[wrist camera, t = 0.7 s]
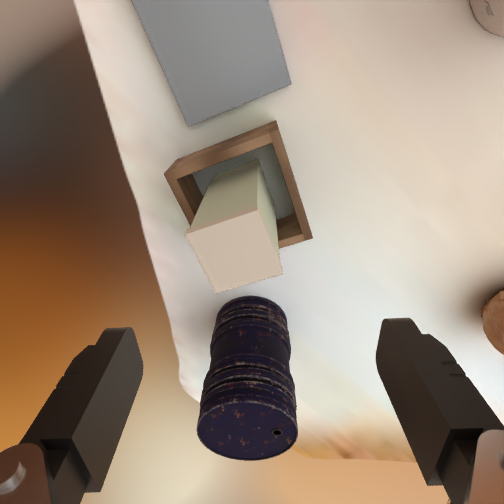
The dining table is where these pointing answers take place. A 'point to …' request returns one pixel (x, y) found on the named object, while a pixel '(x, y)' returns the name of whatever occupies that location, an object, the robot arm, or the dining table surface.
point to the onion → (494, 321)
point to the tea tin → (236, 229)
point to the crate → (182, 169)
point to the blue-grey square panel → (215, 52)
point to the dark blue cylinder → (249, 383)
